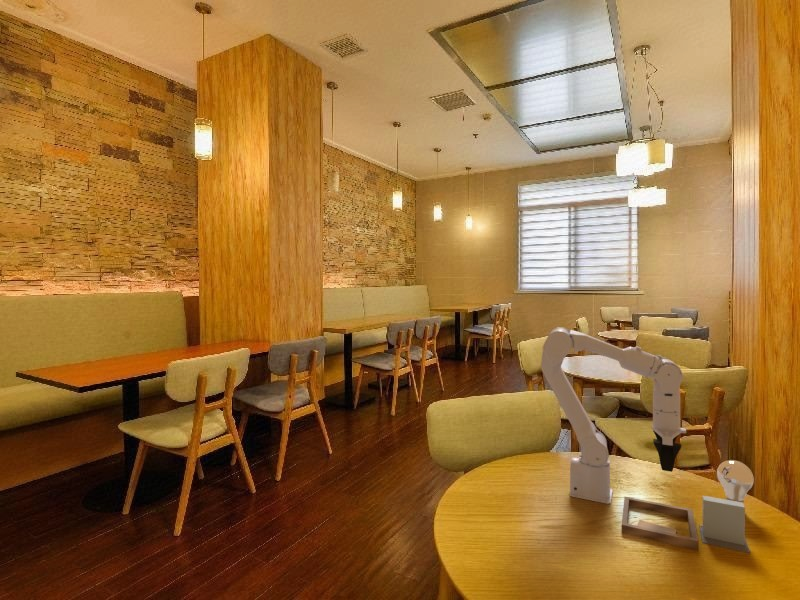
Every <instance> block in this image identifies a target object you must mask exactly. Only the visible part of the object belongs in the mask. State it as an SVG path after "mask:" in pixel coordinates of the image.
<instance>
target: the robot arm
mask: <svg viewBox="0 0 800 600" xmlns="http://www.w3.org/2000/svg"><path fill="white" fill-rule="evenodd" d="M572 349H573V353H576V352H577V353H578V352H582V351H589V352H591V353H594V354H597V355H599V356H603V357H606V358H609V359H612V360H614V361H617V362H618V364H619V365H620V367H621V368H622V369H624V370H627V371H629V372H632V373H634V374H637V375H640V376H642V377H645V378H648V379H653V389H652V425H651V429H652V430H653V431H652V432H653V434H654V435H655V438H653V441H652V442H653V445H654V448H655V449H656V451H657V453H658V457H659V462H660V468H661V470H662V471H665V472H671V473H672V472H673V470H674V468H675V467H674V466H675V464H676V463H675V462H676V458H677V455H678V454H679V452H680V450H681V449H682V444H681V443H677V442H676V440H677V438H678V437H679V435H680V434H687V429H686V428H685V427H681V391H680V390H681V389H680V388H681V386H680V385H681V383H682V382H683V379H684V374H683V372H682V369H681V367H680V366H679V365H677V364H676V363H675V362H674V361H673V360H670V359H669V358H668V357H663V356H662V355H661V354H657V355H656V354H655V355H654V354H653V353H649V352H646V351H644V350H643V348H642V347H640V346H638V345H637V346H635V347H633V346H628V347H625V348H621V347H618V346H616V345H613V344H611V343H609V342H607V341H603V340H602V339H599V338H596V337H594V336H591V335H589V334H586V333H583V332H580V331H578V330H573V329H570V330H569V329H567V328H565V327H562V326H561V327H560V326H558V327H555V328H553V329H552V330H550V332H549V333H548V335H547V338H546V339H545V341H544V343H543V344H542V355H541V360H540V361H541V362H540V369H541V371H542V374H543V376H544V378H545V379H546V380H547V381H546V382H547V383H548V384H549V386H550V388H551V390H552V392H553V394H554V396H555V397H556V399H557V402H558V403H559V404H560V406H561V409H562V411H563V412H564V414H565V415H566V418H567V419H568V421H569V423H570V425H571V427H572V428H573V431H574V434H575V437H576V439H577V442H578V444H579V446H580V453H581V454H580V455H579V457H575V456H573V457H571V459H570V464H569V465H570V467H569V471H570V472H569V474H570V475H569V485H570V488H569V489H570V491H569V492H570V493H569V495H570V497H573V498H577V499H582V500H586V501H592V502H595V503H602V504H605V505H611V503H612V497H613V493H614V490H613V489H612V488H611V465H610V464H611V460H610V458H609V457H610V455H609V454H610V453H609V450H608V441H607V438H606V436H605V434H603V433H602V432H601V431H599V430H598V429H597V427H596V425H595V423H594V422H592V420H591V419H590V417H589V416H588V414H587V411H586V409H585V408H584V406H583V404H582V402H581V401H580V399H579V397H578V395H577V394H576V391H575V390H574V388H573V386H572V384H571V383H570V381H569V379H568V377H567V375H566V374H565V372H564V370H563V368H562V364H563V362H564V359H565V357H566V356H567V355H568V354H569V353H570V351H571V350H572Z"/></svg>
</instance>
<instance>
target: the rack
mask: <svg viewBox="0 0 800 600" xmlns="http://www.w3.org/2000/svg"><path fill="white" fill-rule="evenodd" d="M623 497H624V499H623V508H622V517H621V534H624V535H629V536H632V537H637V538H641V539H646V540H649V541H655V542H660V543H663V544H667V545H671V546H676V547H681V548H685V549H689V550H693V551H699V539H698V533H697V528H696V522H695V515H694V512H693V511H694V510H693V509H691V508H686V507H681V506H678V505H671V504H666V503H661V502H660V503H659V502H654V501H651V500H645V499H640V498H634V497H629V496H623ZM630 508H634V509H637V510H638V509H639V510H643V511H647V512H649V511H650V512H654V513H657V514H664V515H669V516H671V517H672V516H673V517H678V518H683V519H687V525H688V529H689V536H685V535H681V534H678V533H677V534H672V533H668V532H663V531H659V530H654V529H649V528H645V527H640V526H637V524H636V525H635V524H631V523H629V510H630Z"/></svg>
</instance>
